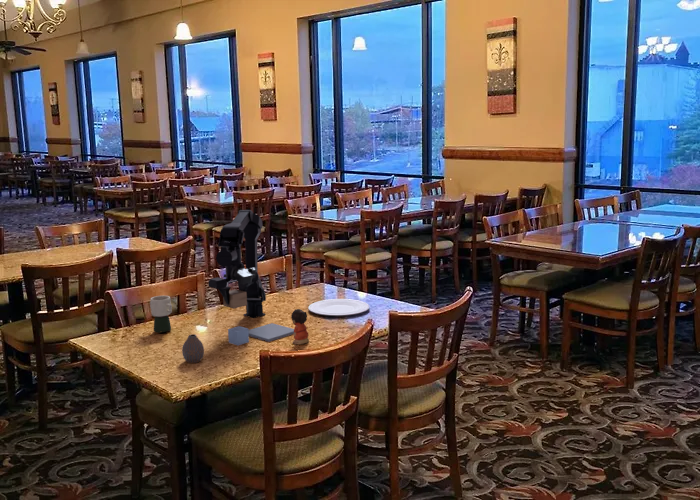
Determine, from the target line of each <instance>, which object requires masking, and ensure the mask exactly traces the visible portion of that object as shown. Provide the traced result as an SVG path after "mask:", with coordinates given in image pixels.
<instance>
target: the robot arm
mask: <svg viewBox="0 0 700 500" xmlns="http://www.w3.org/2000/svg"><path fill="white" fill-rule="evenodd" d="M262 228H263V220H262V219H261V216H260V215H258V214H256V213H254V212H253V210H251V209H240V210H238V212H237V215H236V216H235V218H234V219H233V220H232V222H230V223H226V224H225V225H224V226H222V228H221V229H220V231H219V238H218V244H217V246H218V247H219V248H220V247H221V248H220V249H221V250H220V251H218V252H217V254H216V256H215V261H216V262H217V264H218V265H219V266H220V267H225V273H223V278H222V277H213V278H210V279H209V280H208V283H207V284H208V287H209V288H213V289H216V290H218V291H219V293H220V295H221V296H222V297H223V298H224V300H225V302H226V303H227V304H228V305H229V303H230V297H229V291H231V289H232V287H231V286H229V284H233V283H237V287H238V290H241V291H245V292H246V293H247V305H246V306H245V310H246V311H245V313H243V314H242V315H243V317H247V318H251V319H255V318H260V317H262V316H263V317H264V316H265V315H266V313H264V311H263V309H264V308H263V306H264V305H263V302H265V301H267V296H266V292H265V288H264V287H263V283H262V280H261V278H260V275H259V272H258V271H259V270H258V269H259V268H258V238H259V236H260V235H261V233H262ZM244 241H245V242H244ZM243 242H244V243H245V244H244V245H245V264H244V262H242V250H241V246H242V244H243ZM223 298H222V299H223Z"/></svg>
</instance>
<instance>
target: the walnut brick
mask: <svg viewBox="0 0 700 500" xmlns="http://www.w3.org/2000/svg"><path fill="white" fill-rule="evenodd" d="M229 297H230V303H229V305H228V304H227V303H226V302H225V300H224V298H222V300H223V307H226V308H230V309H238V308H241V307H246V305H247V293H246V292H245V291H241V290H239V289H237V288H236V289H232V290H231V289H230V290H229Z"/></svg>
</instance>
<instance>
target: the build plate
mask: <svg viewBox="0 0 700 500" xmlns="http://www.w3.org/2000/svg"><path fill="white" fill-rule="evenodd" d="M248 333H249V337H251V338H254V339H257V338H258V340H261V341H264V340H265V342H267V343H268V342H269V343H270V342H273V341H276V340H280V339H283V338H285V337H289V336H291V335H294V328H292V327H287V326H284V325H280V324H276V323H273V322H271V323H268V324H267V323H266V324H264V325H261V326H258V327H254V328H252V329H251V328H250V329H248Z"/></svg>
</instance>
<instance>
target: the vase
mask: <svg viewBox="0 0 700 500" xmlns="http://www.w3.org/2000/svg"><path fill="white" fill-rule="evenodd" d="M187 336H188V337H187V339H186V340H185V341H184V343H183V345H182V348H181V352H182V357H183V359H184V361H186V362H187V363H189V364H196V363H199V362H201V360H202V359H203V357H204V355H205V347H204V344H203V342H202V341H201V340H200V339H199V338H198V336H197V335H196V334H195V333H193V334H189V335H187Z"/></svg>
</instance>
